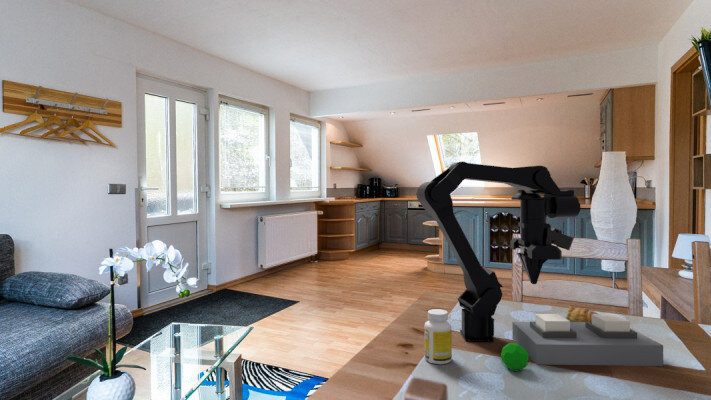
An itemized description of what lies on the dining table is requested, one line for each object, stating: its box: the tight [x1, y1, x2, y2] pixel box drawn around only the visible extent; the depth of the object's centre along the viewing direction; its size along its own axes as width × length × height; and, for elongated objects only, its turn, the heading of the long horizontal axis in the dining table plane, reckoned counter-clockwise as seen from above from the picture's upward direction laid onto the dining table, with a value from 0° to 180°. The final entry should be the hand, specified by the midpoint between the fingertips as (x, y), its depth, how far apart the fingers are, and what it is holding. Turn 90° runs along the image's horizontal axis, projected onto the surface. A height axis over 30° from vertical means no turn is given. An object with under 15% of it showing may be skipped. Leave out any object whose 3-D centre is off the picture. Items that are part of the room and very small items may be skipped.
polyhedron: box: [500, 342, 530, 372], centre depth 77 cm, size 5×5×5 cm
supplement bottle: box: [424, 308, 453, 365], centre depth 82 cm, size 5×5×10 cm
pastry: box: [565, 306, 598, 322], centre depth 104 cm, size 9×7×4 cm
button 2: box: [592, 313, 631, 332], centre depth 85 cm, size 5×5×3 cm
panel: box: [511, 321, 664, 367], centre depth 85 cm, size 24×14×5 cm, turn 87°
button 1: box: [535, 313, 570, 331], centre depth 85 cm, size 5×5×3 cm
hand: (533, 283), depth 96 cm, fingers closed
